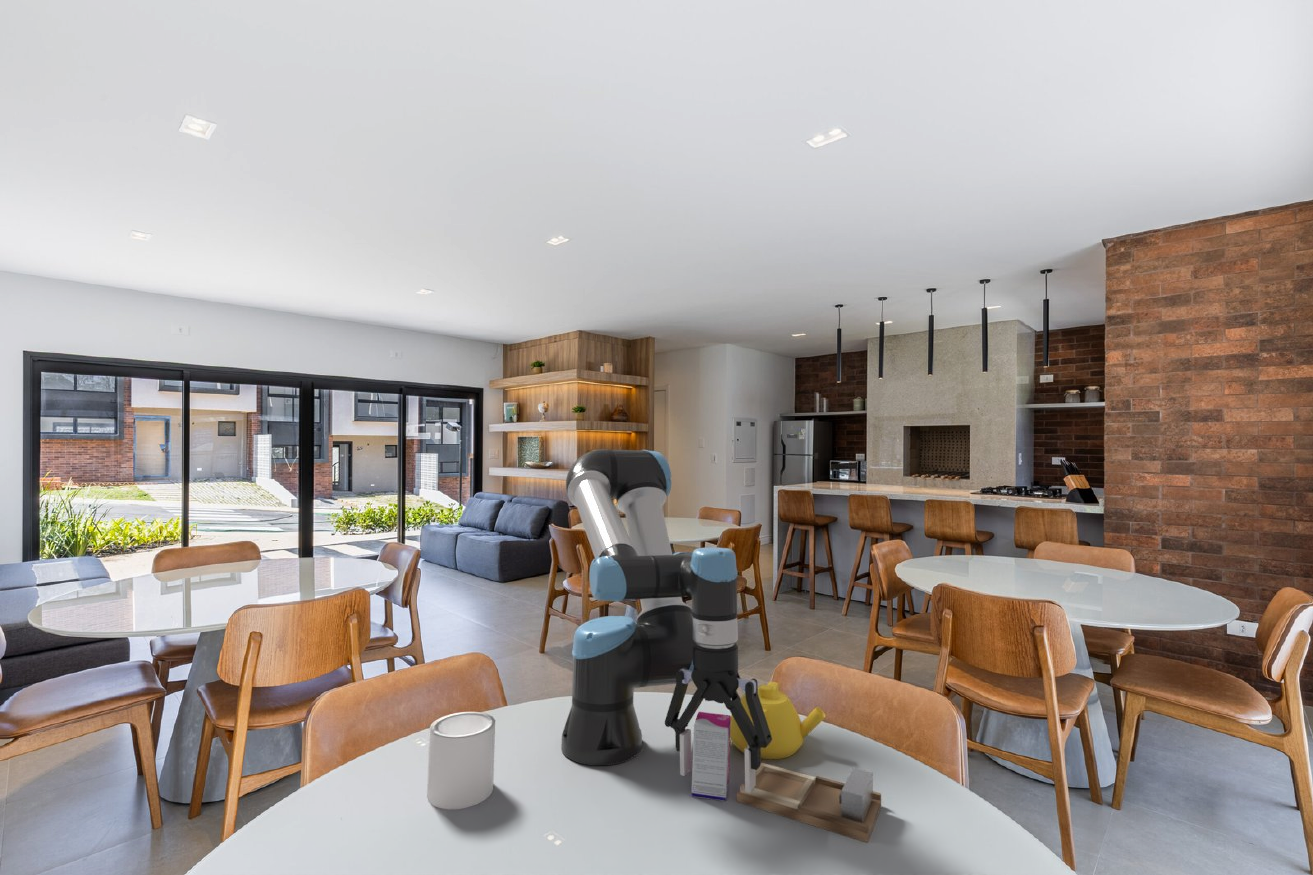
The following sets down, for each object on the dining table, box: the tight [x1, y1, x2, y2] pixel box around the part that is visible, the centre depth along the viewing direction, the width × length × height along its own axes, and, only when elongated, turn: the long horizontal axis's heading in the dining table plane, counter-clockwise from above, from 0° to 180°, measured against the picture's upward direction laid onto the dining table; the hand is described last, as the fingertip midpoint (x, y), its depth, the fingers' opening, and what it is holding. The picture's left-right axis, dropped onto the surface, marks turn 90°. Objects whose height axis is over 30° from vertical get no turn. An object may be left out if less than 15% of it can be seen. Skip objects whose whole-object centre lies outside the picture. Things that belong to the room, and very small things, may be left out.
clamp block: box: [839, 767, 874, 823], centre depth 93 cm, size 4×8×4 cm, turn 150°
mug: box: [426, 711, 496, 810], centre depth 100 cm, size 14×10×11 cm
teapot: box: [730, 681, 827, 760], centre depth 116 cm, size 20×18×11 cm
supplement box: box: [690, 711, 731, 802], centre depth 100 cm, size 6×6×12 cm
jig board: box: [736, 762, 882, 843], centre depth 96 cm, size 20×11×2 cm, turn 60°
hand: (717, 780), depth 99 cm, fingers open, 11 cm apart
